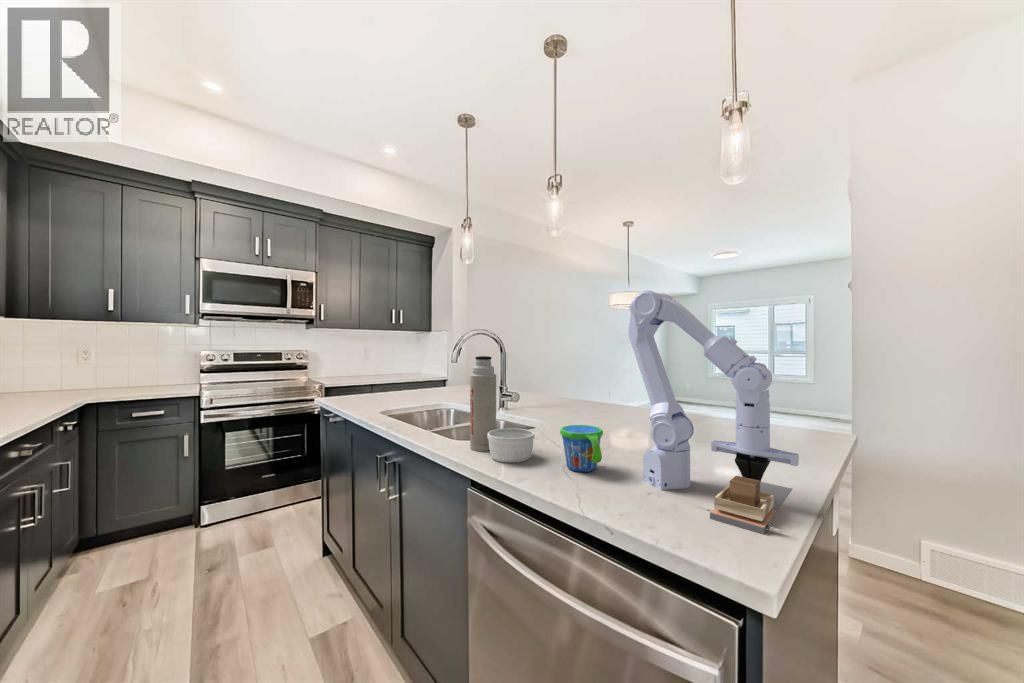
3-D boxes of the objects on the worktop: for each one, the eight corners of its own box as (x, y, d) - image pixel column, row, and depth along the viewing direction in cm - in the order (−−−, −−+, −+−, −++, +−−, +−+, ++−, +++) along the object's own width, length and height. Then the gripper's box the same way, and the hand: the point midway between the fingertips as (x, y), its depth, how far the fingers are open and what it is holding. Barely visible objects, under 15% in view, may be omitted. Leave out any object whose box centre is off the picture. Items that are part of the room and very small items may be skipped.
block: (754, 508, 70) (754, 486, 70) (729, 502, 73) (729, 480, 73) (760, 502, 73) (760, 480, 73) (736, 496, 76) (736, 475, 76)
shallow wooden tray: (762, 524, 67) (762, 509, 67) (714, 510, 72) (714, 497, 72) (774, 508, 73) (774, 495, 73) (729, 497, 78) (729, 484, 78)
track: (763, 534, 66) (763, 528, 66) (709, 518, 72) (709, 512, 72) (792, 493, 83) (792, 488, 83) (747, 483, 89) (747, 478, 89)
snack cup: (552, 460, 107) (552, 423, 107) (588, 458, 109) (588, 421, 109) (573, 480, 91) (573, 436, 92) (614, 477, 94) (614, 434, 94)
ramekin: (512, 448, 119) (512, 425, 119) (544, 457, 110) (544, 432, 110) (478, 457, 110) (478, 432, 110) (509, 468, 101) (509, 441, 101)
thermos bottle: (469, 451, 116) (469, 356, 116) (470, 444, 123) (470, 355, 124) (496, 450, 116) (496, 356, 116) (495, 444, 124) (495, 355, 124)
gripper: (801, 427, 75) (801, 498, 75) (718, 417, 85) (719, 480, 85) (794, 433, 69) (794, 510, 69) (707, 422, 80) (707, 488, 80)
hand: (752, 494), depth 77 cm, fingers closed, pressing on shallow wooden tray
